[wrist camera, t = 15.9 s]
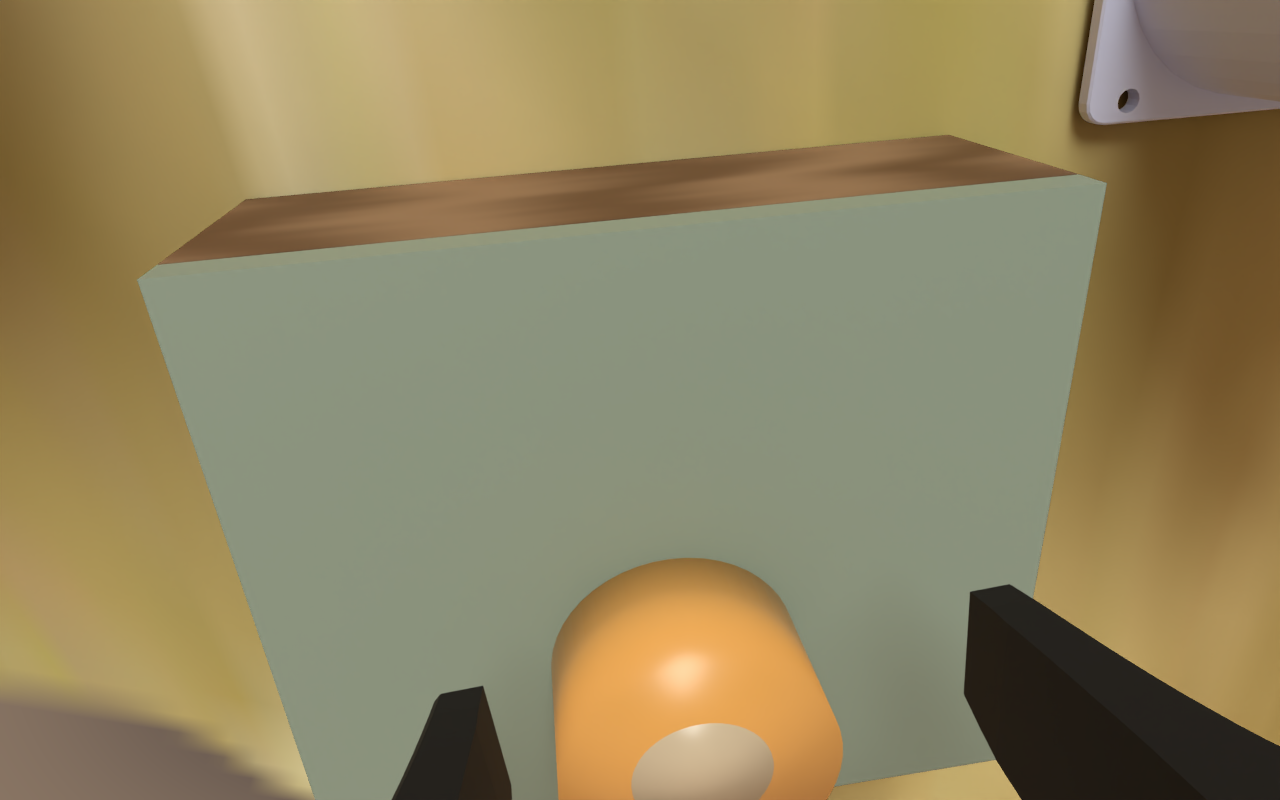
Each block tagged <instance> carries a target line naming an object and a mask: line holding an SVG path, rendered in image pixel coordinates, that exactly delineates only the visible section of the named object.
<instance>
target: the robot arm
mask: <svg viewBox="0 0 1280 800" xmlns="http://www.w3.org/2000/svg"><path fill="white" fill-rule="evenodd" d="M1125 90H1127V92H1128V100H1127V102H1126V105H1125V106H1124V107H1123V108H1122V109H1120V110H1119V108H1118V100H1119V98H1120V95H1121V94H1122V93H1123V92H1124V91H1125ZM1271 109H1280V0H1095V2H1094V8H1093V14H1092V21H1091V27H1090V34H1089V40H1088V47H1087V53H1086V60H1085V66H1084V72H1083V79H1082V85H1081V92H1080V98H1079V112H1080V115H1081V117H1082V118H1083V119H1084V120H1085V121H1087V122H1088V123H1093V124H1099V125H1109V124H1120V123H1131V122H1141V121H1152V120H1163V119H1174V118H1185V117H1195V116H1206V115H1217V114H1228V113H1239V112H1249V111H1260V110H1271ZM964 696H965V698H966V700H967V702H968V704H969V706H970V708H971V710H972V713H973V715H974V717H975V719H976V721H977V723H978V725H979V727H980V729H981V731H982V733H983V735H984V737H985V739H986V741H987V743H988V745H989V747H990V749H991V751H992V753H993V755H994V757H995V759H996V760H997V762H998V764H999V765H1000V767H1001V768H1002V770H1003V771H1004V773H1005V775H1006V776H1007V778H1008V779H1009V781H1010V782H1011V784H1012V785H1013V787H1014V789H1015V790H1016V792H1017V793H1018V795H1019V796H1020V798H1021V799H1022V800H1280V746H1278V745H1276V744H1274V743H1272V742H1270V741H1268V740H1266V739H1264V738H1262V737H1260V736H1258V735H1256V734H1254V733H1253V732H1251V731H1249V730H1247V729H1245V728H1243V727H1241V726H1239V725H1237V724H1236V723H1234V722H1232V721H1230V720H1229V719H1227V718H1225V717H1223V716H1221V715H1220V714H1218V713H1216V712H1214V711H1213V710H1211V709H1209V708H1207V707H1205V706H1204V705H1202V704H1200V703H1198V702H1197V701H1195V700H1193V699H1191V698H1189V697H1188V696H1186V695H1184V694H1183V693H1181V692H1179V691H1177V690H1176V689H1174V688H1172V687H1171V686H1169V685H1167V684H1166V683H1164V682H1162V681H1161V680H1159V679H1157V678H1156V677H1154V676H1152V675H1151V674H1149V673H1147V672H1146V671H1144V670H1143V669H1141V668H1139V667H1138V666H1136V665H1135V664H1133V663H1131V662H1130V661H1128V660H1127V659H1125V658H1123V657H1122V656H1120V655H1119V654H1117V653H1115V652H1114V651H1112V650H1111V649H1109V648H1108V647H1106V646H1104V645H1103V644H1101V643H1100V642H1098V641H1097V640H1095V639H1094V638H1092V637H1091V636H1089V635H1087V634H1086V633H1084V632H1083V631H1081V630H1080V629H1078V628H1077V627H1075V626H1074V625H1072V624H1071V623H1069V622H1068V621H1066V620H1065V619H1063V618H1061V617H1060V616H1058V615H1057V614H1055V613H1054V612H1052V611H1051V610H1049V609H1048V608H1046V607H1045V606H1043V605H1042V604H1040V603H1039V602H1037V601H1036V600H1034V599H1033V598H1031V597H1029V596H1028V595H1026V594H1025V593H1023V592H1022V591H1020V590H1018V589H1017V588H1015V587H1014V586H1012V585H1010V584H1008V585H1002V586H997V587H992V588H987V589H982V590H976V591H971V592H970V600H969V616H968V632H967V648H966V664H965V680H964ZM392 800H512V788H511V782H510V778H509V775H508V771H507V768H506V764H505V761H504V757H503V754H502V750H501V747H500V743H499V740H498V736H497V733H496V729H495V725H494V722H493V718H492V715H491V711H490V708H489V704H488V701H487V697H486V694H485V690H484V687H483V686H478V687H473V688H468V689H463V690H458V691H452V692H447V693H442V694H440V695H439V696H438V698H437V699H436V700H435V701H434V704H433V706H432V709H431V711H430V714H429V717H428V719H427V722H426V724H425V726H424V729H423V731H422V734H421V736H420V738H419V741H418V743H417V745H416V748H415V750H414V752H413V755H412V757H411V759H410V761H409V764H408V766H407V768H406V770H405V772H404V775H403V777H402V779H401V781H400V783H399V785H398V787H397V789H396V791H395V793H394V796H393V798H392Z"/></svg>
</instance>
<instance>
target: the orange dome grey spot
mask: <svg viewBox="0 0 1280 800" xmlns="http://www.w3.org/2000/svg"><path fill="white" fill-rule="evenodd" d="M551 670H552V690H553V708H554V726H555V745H556V763H557V781H558V799H559V800H827V798H828V797H829V795H830V794H831V792H832V790H833V788H834V786H835V784H836V782H837V779H838V776H839V773H840V770H841V764H842V758H843V741H842V736H841V731H840V728H839V725H838V723H837V720H836V718H835V716H834V713H833V711H832V709H831V707H830V704H829V702H828V700H827V698H826V696H825V693H824V691H823V689H822V687H821V684H820V682H819V680H818V678H817V675H816V673H815V671H814V669H813V666H812V664H811V662H810V660H809V657H808V655H807V653H806V651H805V648H804V646H803V644H802V642H801V639H800V637H799V635H798V633H797V630H796V628H795V626H794V624H793V621H792V619H791V617H790V615H789V612H788V610H787V608H786V606H785V605H784V603H783V601H782V600H781V598H780V597H779V595H778V594H777V593H776V592H775V591H774V590H773V589H772V588H771V587H770V586H769V585H768V584H767V583H766V582H764V581H763V580H762V579H761V578H759V577H757V576H756V575H754V574H752V573H751V572H749V571H747V570H745V569H742V568H740V567H738V566H735V565H732V564H729V563H725V562H722V561H717V560H711V559H704V558H677V559H667V560H662V561H656V562H652V563H648V564H645V565H641V566H638V567H635V568H633V569H630V570H628V571H625V572H623V573H621V574H619V575H617V576H615V577H613V578H611V579H610V580H608V581H606V582H605V583H603V584H602V585H600V586H599V587H597V588H596V589H595V590H593V591H592V592H591V593H590V594H589V595H587V596H586V597H585V598H584V599H583V600H582V601H581V602H580V603H579V604H578V605H577V606H576V607H575V609H574V610H573V611H572V612H571V613H570V615H569V616H568V618H567V619H566V621H565V622H564V624H563V625H562V628H561V630H560V632H559V634H558V636H557V638H556V642H555V645H554V648H553V653H552V661H551Z"/></svg>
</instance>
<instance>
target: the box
mask: <svg viewBox="0 0 1280 800" xmlns="http://www.w3.org/2000/svg"><path fill="white" fill-rule="evenodd" d="M1068 175H1077V174H1076V173H1073V172H1069V171H1066V170H1063V169H1059V168H1056V167H1053V166H1050V165H1046V164H1043V163H1040V162H1036V161H1033V160H1030V159H1027V158H1023V157H1020V156H1017V155H1013V154H1010V153H1007V152H1004V151H1000V150H997V149H994V148H990V147H987V146H984V145H981V144H977V143H974V142H971V141H967V140H964V139H961V138H957V137H954V136H951V135H942V136H931V137H921V138H910V139H899V140H888V141H877V142H866V143H855V144H844V145H834V146H823V147H812V148H801V149H790V150H779V151H768V152H758V153H747V154H736V155H725V156H714V157H703V158H692V159H682V160H671V161H660V162H649V163H638V164H627V165H616V166H606V167H595V168H584V169H573V170H562V171H551V172H540V173H530V174H519V175H508V176H497V177H486V178H475V179H464V180H454V181H443V182H432V183H421V184H410V185H399V186H388V187H378V188H367V189H356V190H345V191H334V192H323V193H312V194H302V195H291V196H280V197H269V198H258V199H247V200H244V201H243V202H242V203H240V204H239V205H238V206H236V207H235V208H234V209H232V210H231V211H229V212H228V213H227V214H225V215H224V216H223V217H221V218H220V219H219V220H217V221H216V222H215V223H213V224H212V225H210V226H209V227H208V228H206V229H205V230H204V231H202V232H201V233H200V234H198V235H197V236H195V237H194V238H193V239H191V240H190V241H189V242H187V243H186V244H185V245H183V246H182V247H181V248H179V249H178V250H176V251H175V252H174V253H172V254H171V255H170V256H168V257H167V258H166V259H164V260H163V261H161V262H160V263H159V264H158V265H162V264H172V263H182V262H192V261H202V260H212V259H223V258H233V257H243V256H253V255H263V254H274V253H284V252H294V251H304V250H314V249H324V248H335V247H345V246H355V245H365V244H375V243H386V242H396V241H406V240H416V239H426V238H436V237H447V236H457V235H467V234H477V233H487V232H498V231H508V230H518V229H528V228H538V227H548V226H559V225H569V224H579V223H589V222H599V221H610V220H620V219H630V218H640V217H650V216H660V215H671V214H681V213H691V212H701V211H711V210H722V209H732V208H742V207H752V206H762V205H772V204H783V203H793V202H803V201H813V200H823V199H834V198H844V197H854V196H864V195H874V194H884V193H895V192H905V191H915V190H925V189H935V188H946V187H956V186H966V185H976V184H986V183H996V182H1007V181H1017V180H1027V179H1037V178H1047V177H1058V176H1068Z"/></svg>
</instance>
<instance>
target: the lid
mask: <svg viewBox="0 0 1280 800" xmlns="http://www.w3.org/2000/svg"><path fill="white" fill-rule="evenodd" d="M1106 185H1107V183H1105V182H1102V181H1099V180H1095V179H1092V178H1089V177H1086V176H1082V175H1079V174H1078V175H1068V176H1058V177H1047V178H1037V179H1027V180H1017V181H1007V182H996V183H986V184H976V185H966V186H956V187H946V188H935V189H925V190H915V191H905V192H895V193H884V194H874V195H864V196H854V197H844V198H834V199H823V200H813V201H803V202H793V203H783V204H772V205H762V206H752V207H742V208H732V209H722V210H711V211H701V212H691V213H681V214H671V215H660V216H650V217H640V218H630V219H620V220H610V221H599V222H589V223H579V224H569V225H559V226H548V227H538V228H528V229H518V230H508V231H498V232H487V233H477V234H467V235H457V236H447V237H436V238H426V239H416V240H406V241H396V242H386V243H375V244H365V245H355V246H345V247H335V248H324V249H314V250H304V251H294V252H284V253H274V254H263V255H253V256H243V257H233V258H223V259H212V260H202V261H192V262H182V263H172V264H162V265H156V266H155V267H153V268H152V269H151V270H149V271H148V272H147V273H145V274H144V275H143V276H141V277H140V278H139V279H137V281H138V284H139V287H140V290H141V292H142V295H143V298H144V301H145V304H146V307H147V310H148V313H149V316H150V319H151V322H152V325H153V328H154V330H155V333H156V336H157V339H158V342H159V345H160V348H161V351H162V354H163V357H164V360H165V363H166V365H167V368H168V371H169V374H170V377H171V380H172V383H173V386H174V389H175V392H176V395H177V398H178V400H179V403H180V406H181V409H182V412H183V415H184V418H185V421H186V424H187V427H188V430H189V433H190V436H191V438H192V441H193V444H194V447H195V450H196V453H197V456H198V459H199V462H200V465H201V468H202V471H203V473H204V476H205V479H206V482H207V485H208V488H209V491H210V494H211V497H212V500H213V503H214V506H215V508H216V511H217V514H218V517H219V520H220V523H221V526H222V529H223V532H224V535H225V538H226V541H227V543H228V546H229V549H230V552H231V555H232V558H233V561H234V564H235V567H236V570H237V573H238V576H239V579H240V581H241V584H242V587H243V590H244V593H245V596H246V599H247V602H248V605H249V608H250V611H251V614H252V616H253V619H254V622H255V625H256V628H257V631H258V634H259V637H260V640H261V643H262V646H263V649H264V651H265V654H266V657H267V660H268V663H269V666H270V669H271V672H272V675H273V678H274V681H275V684H276V687H277V689H278V692H279V695H280V698H281V701H282V704H283V707H284V710H285V713H286V716H287V719H288V722H289V724H290V727H291V730H292V733H293V736H294V739H295V742H296V745H297V748H298V751H299V754H300V757H301V759H302V762H303V765H304V768H305V771H306V774H307V777H308V780H309V783H310V786H311V789H312V792H313V794H314V797H315V800H392V798H393V796H394V793H395V791H396V789H397V787H398V785H399V783H400V781H401V779H402V777H403V775H404V772H405V770H406V768H407V766H408V764H409V761H410V759H411V757H412V755H413V752H414V750H415V748H416V745H417V743H418V741H419V738H420V736H421V734H422V731H423V729H424V726H425V724H426V722H427V719H428V717H429V714H430V711H431V709H432V706H433V704H434V701H435V700H436V699H437V698H438V696H439V695H440V694H442V693H447V692H452V691H458V690H463V689H468V688H473V687H478V686H483V687H484V690H485V694H486V697H487V701H488V704H489V708H490V711H491V715H492V718H493V722H494V725H495V729H496V733H497V736H498V740H499V743H500V747H501V750H502V754H503V757H504V761H505V764H506V768H507V771H508V775H509V778H510V782H511V788H512V800H559V799H558V781H557V763H556V745H555V726H554V708H553V690H552V670H551V661H552V653H553V648H554V645H555V642H556V638H557V636H558V634H559V632H560V630H561V628H562V625H563V624H564V622H565V621H566V619H567V618H568V616H569V615H570V613H571V612H572V611H573V610H574V609H575V607H576V606H577V605H578V604H579V603H580V602H581V601H582V600H583V599H584V598H585V597H586V596H587V595H589V594H590V593H591V592H592V591H593V590H595V589H596V588H597V587H599V586H600V585H602V584H603V583H605V582H606V581H608V580H610V579H611V578H613V577H615V576H617V575H619V574H621V573H623V572H625V571H628V570H630V569H633V568H635V567H638V566H641V565H645V564H648V563H652V562H656V561H662V560H667V559H677V558H704V559H711V560H717V561H722V562H725V563H729V564H732V565H735V566H738V567H740V568H742V569H745V570H747V571H749V572H751V573H752V574H754V575H756V576H757V577H759V578H761V579H762V580H763V581H764V582H766V583H767V584H768V585H769V586H770V587H771V588H772V589H773V590H774V591H775V592H776V593H777V594H778V595H779V597H780V598H781V600H782V601H783V603H784V605H785V606H786V608H787V610H788V612H789V615H790V617H791V619H792V621H793V624H794V626H795V628H796V630H797V633H798V635H799V637H800V639H801V642H802V644H803V646H804V648H805V651H806V653H807V655H808V657H809V660H810V662H811V664H812V666H813V669H814V671H815V673H816V675H817V678H818V680H819V682H820V684H821V687H822V689H823V691H824V693H825V696H826V698H827V700H828V702H829V704H830V707H831V709H832V711H833V713H834V716H835V718H836V720H837V723H838V725H839V728H840V731H841V736H842V741H843V758H842V764H841V770H840V773H839V776H838V779H837V782H836V784H835V786H841V785H847V784H853V783H859V782H865V781H871V780H877V779H883V778H889V777H895V776H901V775H907V774H913V773H919V772H925V771H931V770H937V769H943V768H949V767H955V766H961V765H967V764H973V763H979V762H985V761H991V760H996V759H995V757H994V755H993V753H992V751H991V749H990V747H989V745H988V743H987V741H986V739H985V737H984V735H983V733H982V731H981V729H980V727H979V725H978V723H977V721H976V719H975V717H974V715H973V713H972V710H971V708H970V706H969V704H968V702H967V700H966V698H965V696H964V680H965V664H966V648H967V632H968V616H969V600H970V592H971V591H976V590H982V589H987V588H992V587H997V586H1002V585H1008V584H1010V585H1012V586H1014V587H1015V588H1017V589H1018V590H1020V591H1022V592H1023V593H1025V594H1026V595H1028V596H1029V597H1031V598H1033V595H1034V590H1035V584H1036V578H1037V573H1038V567H1039V561H1040V556H1041V550H1042V545H1043V539H1044V533H1045V528H1046V522H1047V517H1048V511H1049V505H1050V500H1051V494H1052V488H1053V483H1054V477H1055V472H1056V466H1057V460H1058V455H1059V449H1060V444H1061V438H1062V432H1063V427H1064V421H1065V415H1066V410H1067V404H1068V399H1069V393H1070V387H1071V382H1072V376H1073V370H1074V365H1075V359H1076V354H1077V348H1078V342H1079V337H1080V331H1081V326H1082V320H1083V314H1084V309H1085V303H1086V297H1087V292H1088V286H1089V281H1090V275H1091V269H1092V264H1093V258H1094V253H1095V247H1096V241H1097V236H1098V230H1099V224H1100V219H1101V213H1102V208H1103V202H1104V196H1105V191H1106ZM835 786H834V787H835Z"/></svg>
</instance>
